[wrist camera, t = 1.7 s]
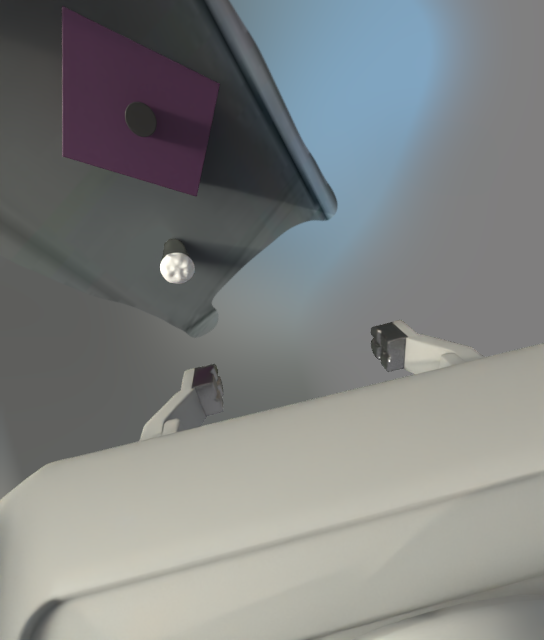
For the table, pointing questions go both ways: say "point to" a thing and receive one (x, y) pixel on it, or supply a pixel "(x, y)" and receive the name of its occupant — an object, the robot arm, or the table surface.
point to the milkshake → (176, 262)
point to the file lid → (132, 107)
